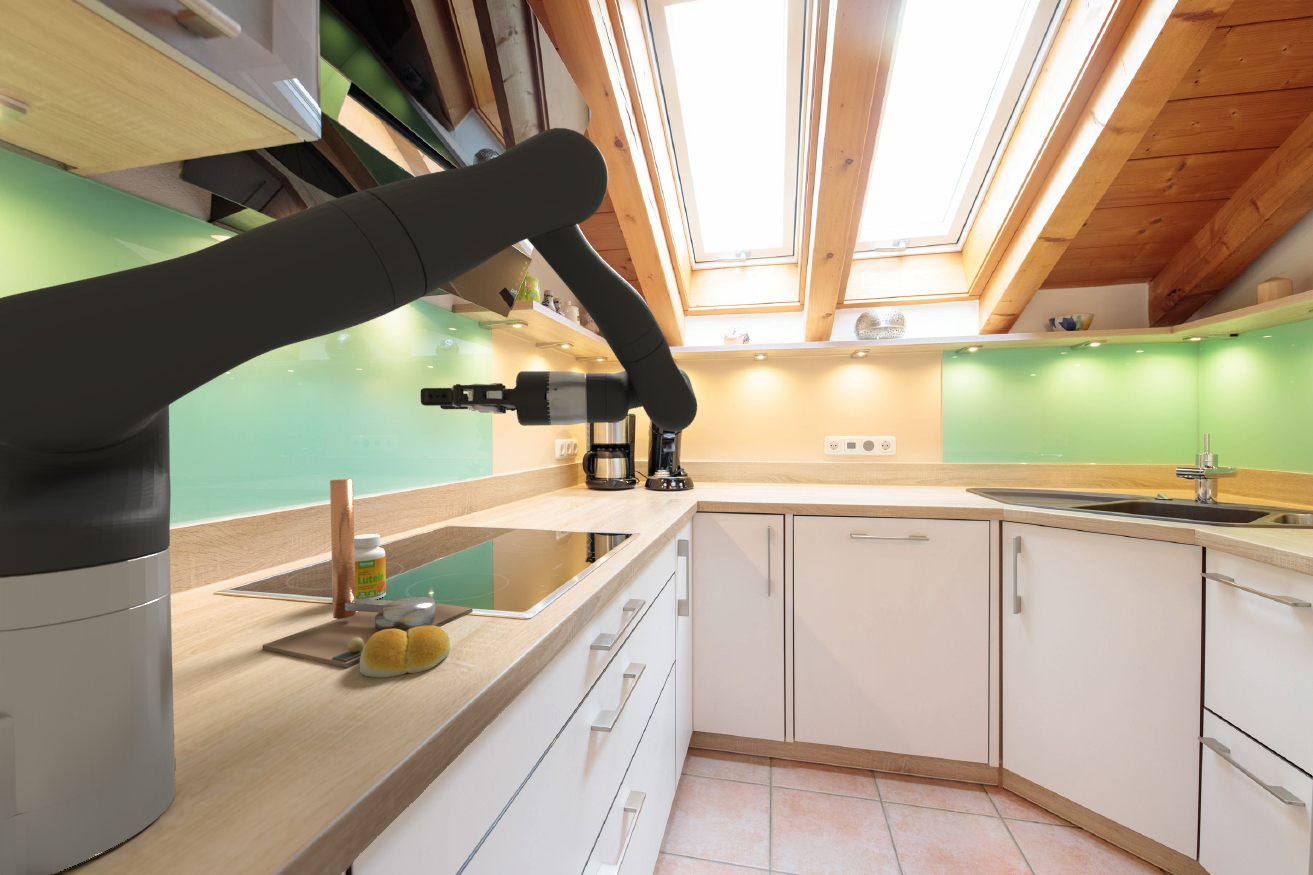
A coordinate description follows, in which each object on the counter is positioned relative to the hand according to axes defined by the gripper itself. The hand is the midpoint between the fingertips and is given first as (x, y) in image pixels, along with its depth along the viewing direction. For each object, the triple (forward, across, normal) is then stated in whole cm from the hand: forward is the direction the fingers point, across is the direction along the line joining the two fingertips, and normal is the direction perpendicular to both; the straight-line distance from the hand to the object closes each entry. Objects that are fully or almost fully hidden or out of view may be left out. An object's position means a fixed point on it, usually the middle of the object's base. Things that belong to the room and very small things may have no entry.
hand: (431, 399), depth 70 cm
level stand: (+7, +2, +30) cm, 31 cm away
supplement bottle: (+14, -13, +30) cm, 36 cm away
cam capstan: (+6, +2, +29) cm, 30 cm away
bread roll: (0, +13, +30) cm, 33 cm away
